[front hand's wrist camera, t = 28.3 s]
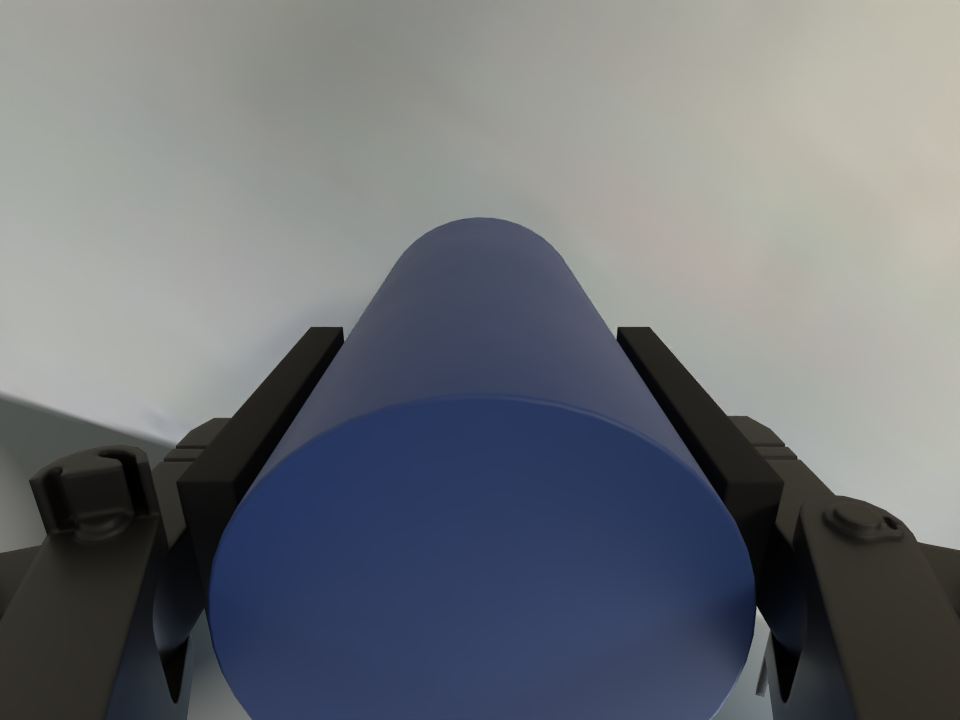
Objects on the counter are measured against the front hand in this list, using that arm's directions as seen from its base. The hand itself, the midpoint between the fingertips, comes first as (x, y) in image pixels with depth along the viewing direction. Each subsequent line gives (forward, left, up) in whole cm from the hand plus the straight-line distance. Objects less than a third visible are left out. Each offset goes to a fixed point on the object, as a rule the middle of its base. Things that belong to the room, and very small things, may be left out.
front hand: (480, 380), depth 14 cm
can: (0, 0, -5) cm, 5 cm away
